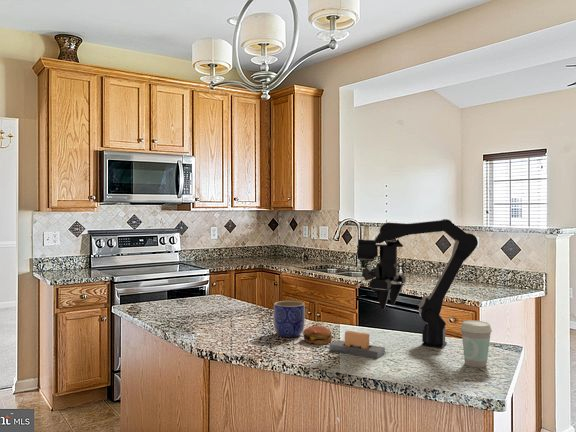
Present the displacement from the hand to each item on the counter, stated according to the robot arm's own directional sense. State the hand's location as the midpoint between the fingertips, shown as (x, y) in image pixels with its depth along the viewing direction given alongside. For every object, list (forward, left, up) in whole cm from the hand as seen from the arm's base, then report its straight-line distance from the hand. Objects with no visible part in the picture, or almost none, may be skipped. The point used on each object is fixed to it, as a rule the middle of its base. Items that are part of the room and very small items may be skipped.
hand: (387, 306), depth 171 cm
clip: (+4, +16, -12) cm, 20 cm away
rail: (+4, +16, -12) cm, 20 cm away
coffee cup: (-30, +9, -12) cm, 34 cm away
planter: (+33, +9, -12) cm, 36 cm away
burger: (+21, +11, -12) cm, 26 cm away
